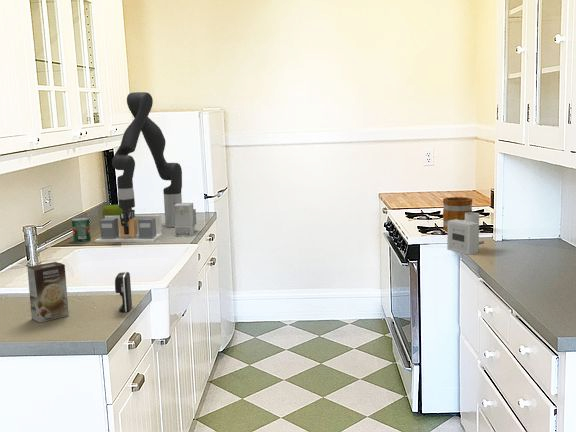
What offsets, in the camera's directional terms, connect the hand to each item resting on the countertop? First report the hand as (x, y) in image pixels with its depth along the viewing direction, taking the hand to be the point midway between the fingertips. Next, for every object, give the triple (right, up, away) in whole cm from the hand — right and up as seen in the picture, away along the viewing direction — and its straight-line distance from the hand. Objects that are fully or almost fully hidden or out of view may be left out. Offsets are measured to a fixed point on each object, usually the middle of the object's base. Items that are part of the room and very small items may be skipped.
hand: (128, 232), depth 304 cm
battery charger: (+25, -21, -106) cm, 110 cm away
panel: (-1, -3, +3) cm, 4 cm away
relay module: (0, -1, 0) cm, 1 cm away
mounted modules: (0, -2, 0) cm, 2 cm away
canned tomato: (-22, -4, 0) cm, 22 cm away
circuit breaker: (+26, -1, +13) cm, 29 cm away
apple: (-20, +4, +47) cm, 52 cm away
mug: (+156, +1, +2) cm, 156 cm away
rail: (-1, -3, +1) cm, 4 cm away
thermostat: (+151, -6, -41) cm, 156 cm away
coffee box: (+4, -23, -111) cm, 113 cm away
